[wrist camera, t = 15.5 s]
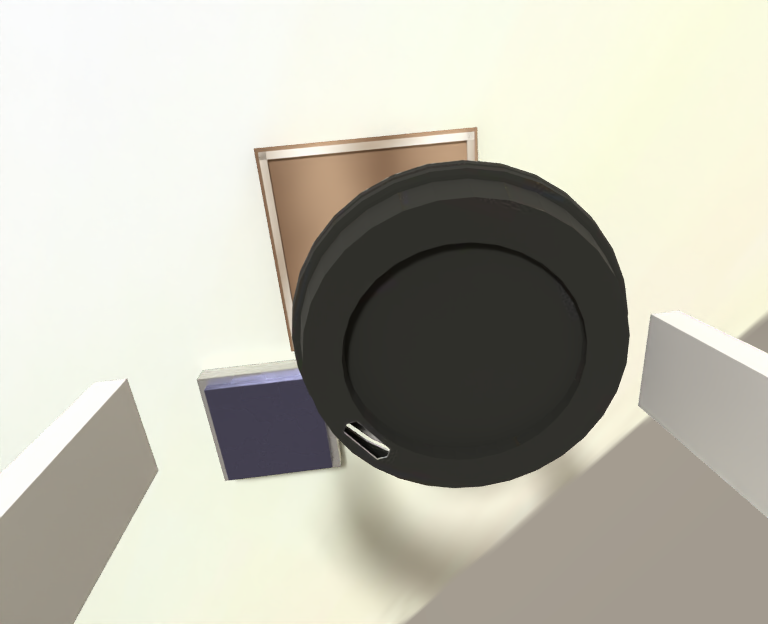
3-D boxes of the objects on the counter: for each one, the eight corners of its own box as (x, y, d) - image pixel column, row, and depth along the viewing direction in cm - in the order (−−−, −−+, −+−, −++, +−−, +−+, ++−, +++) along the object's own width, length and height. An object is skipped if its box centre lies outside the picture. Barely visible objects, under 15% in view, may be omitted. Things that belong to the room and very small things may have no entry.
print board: (292, 345, 29) (291, 352, 28) (256, 148, 24) (253, 148, 23) (476, 324, 29) (480, 330, 28) (473, 127, 25) (477, 127, 24)
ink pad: (229, 468, 32) (222, 487, 30) (202, 370, 29) (193, 384, 27) (341, 454, 32) (340, 472, 30) (325, 356, 29) (324, 369, 27)
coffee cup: (549, 238, 25) (734, 364, 11) (423, 346, 28) (449, 554, 14) (431, 105, 23) (483, 58, 9) (307, 238, 26) (200, 359, 12)
